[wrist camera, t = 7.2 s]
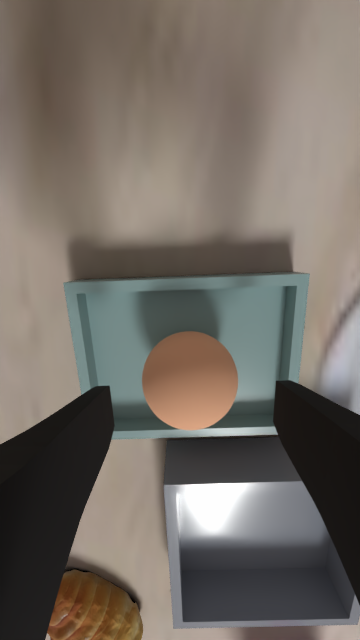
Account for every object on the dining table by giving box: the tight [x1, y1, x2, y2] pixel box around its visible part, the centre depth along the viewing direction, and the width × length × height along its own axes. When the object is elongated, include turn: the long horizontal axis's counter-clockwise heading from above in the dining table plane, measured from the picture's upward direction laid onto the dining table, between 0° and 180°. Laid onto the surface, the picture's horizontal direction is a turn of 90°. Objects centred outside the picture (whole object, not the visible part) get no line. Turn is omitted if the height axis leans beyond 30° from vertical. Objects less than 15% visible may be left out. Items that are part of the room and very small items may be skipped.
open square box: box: [164, 437, 360, 629], centre depth 17 cm, size 13×13×4 cm
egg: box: [142, 331, 238, 430], centre depth 12 cm, size 5×5×5 cm
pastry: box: [47, 569, 143, 640], centre depth 20 cm, size 9×7×4 cm
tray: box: [63, 272, 310, 439], centre depth 15 cm, size 13×10×2 cm
